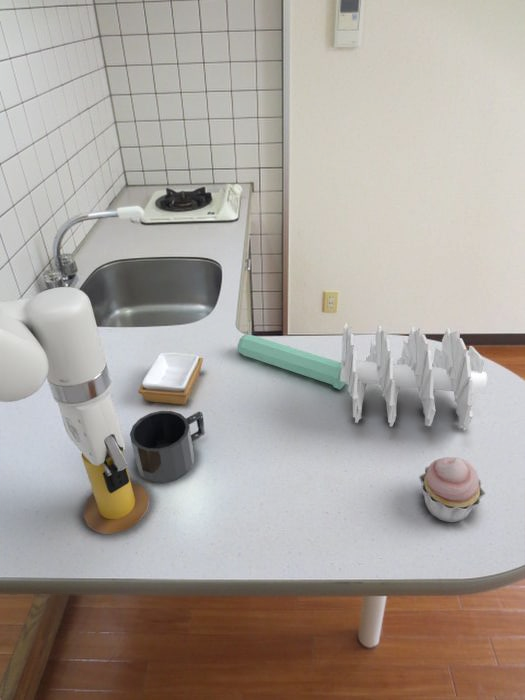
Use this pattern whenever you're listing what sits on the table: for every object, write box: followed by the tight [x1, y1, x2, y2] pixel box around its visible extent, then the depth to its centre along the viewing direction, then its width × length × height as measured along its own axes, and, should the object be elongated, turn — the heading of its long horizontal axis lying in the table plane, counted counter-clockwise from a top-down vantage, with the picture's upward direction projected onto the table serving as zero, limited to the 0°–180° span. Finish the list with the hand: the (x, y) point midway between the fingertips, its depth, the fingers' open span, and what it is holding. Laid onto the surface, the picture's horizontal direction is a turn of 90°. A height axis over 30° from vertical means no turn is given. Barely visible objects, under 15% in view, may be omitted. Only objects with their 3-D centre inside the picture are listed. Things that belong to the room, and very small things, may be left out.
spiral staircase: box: [340, 322, 488, 431], centre depth 93 cm, size 18×18×25 cm
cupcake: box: [418, 456, 486, 523], centre depth 78 cm, size 9×9×10 cm
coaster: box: [83, 480, 150, 535], centre depth 83 cm, size 10×10×1 cm
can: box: [81, 450, 135, 519], centre depth 79 cm, size 6×6×12 cm
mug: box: [129, 410, 206, 484], centre depth 89 cm, size 13×10×8 cm
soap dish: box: [137, 351, 204, 405], centre depth 106 cm, size 12×10×5 cm
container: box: [237, 333, 346, 391], centre depth 110 cm, size 6×6×25 cm
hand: (108, 474), depth 79 cm, fingers closed on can, 5 cm apart
